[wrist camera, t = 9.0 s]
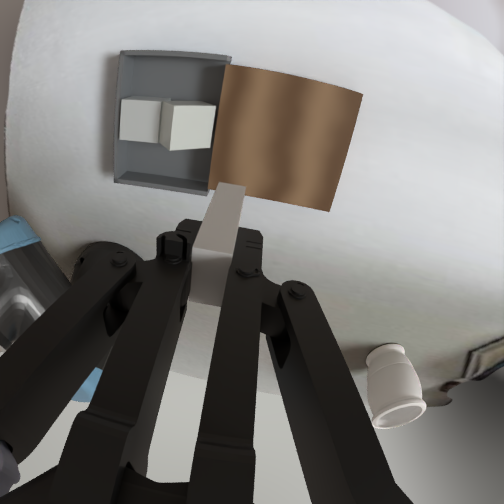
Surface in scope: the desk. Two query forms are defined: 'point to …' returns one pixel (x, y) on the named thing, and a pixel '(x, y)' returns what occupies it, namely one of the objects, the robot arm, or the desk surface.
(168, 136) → the tile
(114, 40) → the desk surface
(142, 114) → the light grey block
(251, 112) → the board
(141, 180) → the tray
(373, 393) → the jar
